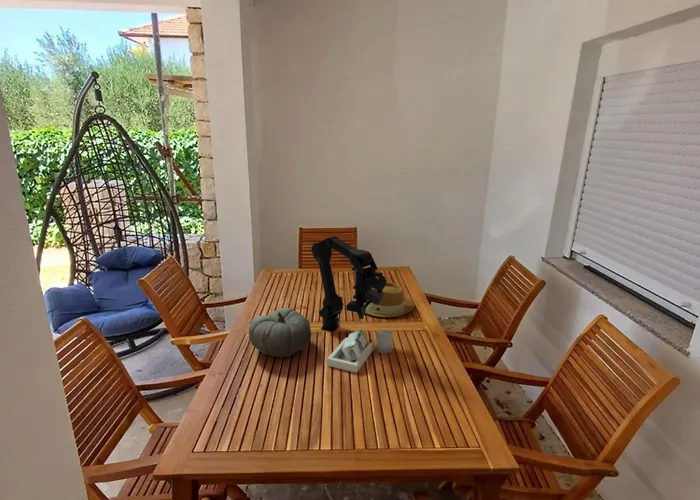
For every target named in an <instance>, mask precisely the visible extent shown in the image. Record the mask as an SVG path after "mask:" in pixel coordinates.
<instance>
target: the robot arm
mask: <svg viewBox="0 0 700 500" xmlns="http://www.w3.org/2000/svg"><path fill="white" fill-rule="evenodd" d="M310 249H311V253H312V257H313V258H314V260H315V261H316V262H317V264H318V268H319V272H320V276H321V277H320V278H321V280H322V287H323V293H324V298H323V300H322V308H321V309H320V310H319V311H318V315H319V317H321V318H322V327H321V328H320V329H321V330H322V331H328V332H333V333H334V332H336V330H338V328H340V327H341V326H340V318H339V315H341V314H342V311H343V309H344V302H343V297H342V296H339V294H338V293H337V291H336V286H335V285H336V284H335V280H334V275H333V271H332V265H331V258H332V256H333V250H334V251H336V252H337V253H339V254H340V255H342V256H344V257H345V258H347V259H348V260H349V263H350V264H351V265H352V266H353V267H352V268H351V269H350V270H351V271H352V272H355V273H354V285H353V287H352V289H353V290H354V295H353V296H352V298H353V299H352V300H350V301H349V302H348V303H347V304H346V305H345V310H346V311H348V312H353V313H356V314H357V316H358V318H359V320H364V318H365V314H366V313H365V311H366V308H367V306H368V305H369V304H370V303H371V302H373V303H374V304H375V305H379V303H380V302H381V300H382V298H383V297H384V294H383V289H384V287H385V285H386V282H387V279H386V277H385V276H384V273H383V272H382V271H378V266H377V263H376V262H375V260H374V258H373V255H372V253H371V252H370V251H367V250H366V249H359V248H355V247H354V246H352V245H350V244H349V243H348V242H345V241H344V240H342V239H340V238H339V237H338V236H337V235H333V236H328V237H326V238H325V239H323V240H321V241H317V242H314V243H313V244H312V246H311V248H310ZM372 288H374V289H372ZM368 300H369V301H368Z"/></svg>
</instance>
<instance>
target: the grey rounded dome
mask: <svg viewBox="0 0 700 500" xmlns="http://www.w3.org/2000/svg"><path fill="white" fill-rule="evenodd" d="M375 346H376V349H375V350H376V351H377V352H378V353H381V354H389V353H391V352H392V351H393V332H392V331H390V330H388V329H381V330H378V331H377V332H376V343H375Z"/></svg>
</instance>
